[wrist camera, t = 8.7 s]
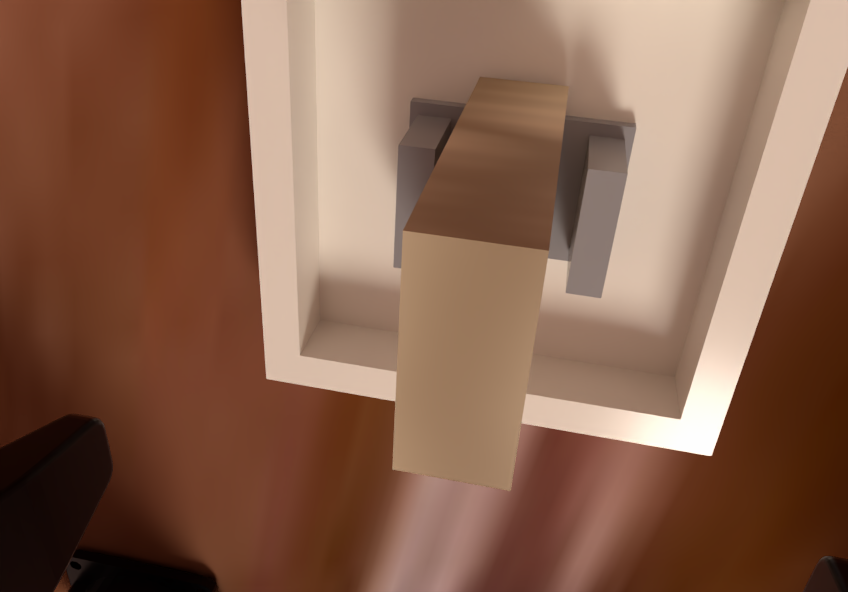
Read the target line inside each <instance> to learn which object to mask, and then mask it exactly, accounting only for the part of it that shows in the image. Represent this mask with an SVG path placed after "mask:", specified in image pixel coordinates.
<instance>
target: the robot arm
mask: <svg viewBox="0 0 848 592" xmlns="http://www.w3.org/2000/svg"><path fill="white" fill-rule="evenodd" d="M112 471H113V461H112V457H111V452H110V448H109V443H108V439H107V434H106V430H105V426H104V424H103V422H102V421H101V420H100V419H98V418H95V417H89V416H84V415H79V414H69V415H66V416H64V417H61V418H59V419H57V420H55V421H53V422H51V423H49V424H47V425H45V426H43V427H41V428H39V429H37V430H35V431H33V432H31V433H29V434H27V435H25V436H23V437H21V438H19V439H17V440H15V441H13V442H11V443H9V444H7V445H5V446H3V447H1V448H0V592H54V590H55V588H56V587H57V585H58V583H59V581H60V579H61V578H62V576H63V574H64V572H65V570H67V573H68V577H69V580H70V584H71V587H70V589H69V590H68V592H218V587H217V585H216V583H215V582H214V581H213V580H212V579H210V578H208V577H205V576H200V575H195V574H191V573H186V572H181V571H177V570H172V569H167V568H163V567H158V566H153V565H149V564H144V563H139V562H135V561H130V560H125V559H121V558H116V557H111V556H106V555H102V554H97V553H92V552H88V551H83V550H77V549H76V548H77V546H78V544H79V542H80V540H81V538H82V536H83V534H84V532H85V530H86V528H87V526H88V524H89V522H90V520H91V518H92V516H93V514H94V512H95V510H96V508H97V506H98V504H99V502H100V500H101V498H102V496H103V494H104V492H105V490H106V488H107V486H108V484H109V481H110V479H111V476H112ZM803 592H848V559H844V558H839V557H833V556H824V557H822V558H821V559H820V560H819V562H818V563H817V565H816V567H815V569H814V571H813V573H812V575H811V577H810V579H809V581H808V583H807V585H806V587H805V589H804V591H803Z"/></svg>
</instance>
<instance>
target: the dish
mask: <svg viewBox="0 0 848 592" xmlns="http://www.w3.org/2000/svg"><path fill="white" fill-rule="evenodd" d="M241 6H242V21H243V36H244V51H245V66H246V81H247V96H248V111H249V126H250V141H251V156H252V171H253V186H254V201H255V216H256V230H257V245H258V260H259V275H260V290H261V305H262V320H263V335H264V350H265V365H266V379H270V380H276V381H282V382H288V383H293V384H299V385H305V386H311V387H316V388H322V389H328V390H334V391H339V392H345V393H351V394H357V395H362V396H368V397H374V398H380V399H385V400H391V401H395V399H396V376H397V353H398V330H399V307H400V284H401V262H402V239H403V229H404V227H405V225H406V223H407V221H408V219H409V217H410V215H411V213H412V211H413V209H414V207H415V205H416V203H417V201H418V199H419V197H420V195H421V193H422V191H423V189H424V187H425V185H426V183H427V181H428V179H429V177H430V175H431V173H432V171H433V169H434V167H435V165H436V163H437V161H438V159H439V157H440V155H441V153H442V151H443V149H444V147H445V145H446V143H447V141H448V139H449V137H450V135H451V133H452V131H453V129H454V127H455V125H456V123H457V121H458V119H459V117H460V115H461V113H462V111H463V110H464V108H465V106H466V104H467V102H468V100H469V98H470V96H471V94H472V92H473V90H474V88H475V86H476V84H477V82H478V80H479V78H480V77H488V78H497V79H506V80H516V81H525V82H534V83H543V84H552V85H562V86H569V90H568V98H567V106H566V115H565V123H564V131H563V139H562V148H561V156H560V164H559V172H558V181H557V189H556V197H555V205H554V214H553V222H552V230H551V239H550V247H549V254H548V260H547V267H546V273H545V279H544V285H543V291H542V298H541V304H540V310H539V316H538V323H537V329H536V335H535V341H534V348H533V354H532V360H531V366H530V373H529V379H528V385H527V391H526V398H525V404H524V410H523V416H522V423H524V424H529V425H535V426H541V427H547V428H552V429H558V430H564V431H570V432H575V433H581V434H587V435H593V436H598V437H604V438H610V439H616V440H621V441H627V442H633V443H639V444H644V445H650V446H656V447H662V448H668V449H673V450H679V451H685V452H691V453H696V454H702V455H708V456H712V453H713V450H714V447H715V444H716V441H717V439H718V436H719V433H720V430H721V427H722V424H723V421H724V419H725V416H726V413H727V410H728V407H729V404H730V401H731V399H732V396H733V393H734V390H735V387H736V384H737V381H738V379H739V376H740V373H741V370H742V367H743V364H744V361H745V359H746V356H747V353H748V350H749V347H750V344H751V341H752V339H753V336H754V333H755V330H756V327H757V324H758V321H759V319H760V316H761V313H762V310H763V307H764V304H765V301H766V299H767V296H768V293H769V290H770V287H771V284H772V281H773V279H774V276H775V273H776V270H777V267H778V264H779V261H780V259H781V256H782V253H783V250H784V247H785V244H786V241H787V239H788V236H789V233H790V230H791V227H792V224H793V221H794V219H795V216H796V213H797V210H798V207H799V204H800V201H801V199H802V196H803V193H804V190H805V187H806V184H807V181H808V179H809V176H810V173H811V170H812V167H813V164H814V161H815V159H816V156H817V153H818V150H819V147H820V144H821V141H822V138H823V136H824V133H825V130H826V127H827V124H828V121H829V118H830V116H831V113H832V110H833V107H834V104H835V101H836V98H837V96H838V93H839V90H840V87H841V84H842V81H843V78H844V76H845V73H846V70H847V67H848V0H241Z"/></svg>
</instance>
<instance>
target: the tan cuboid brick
mask: <svg viewBox="0 0 848 592" xmlns="http://www.w3.org/2000/svg"><path fill="white" fill-rule="evenodd" d="M568 90H569V86H562V85H552V84H543V83H534V82H525V81H516V80H506V79H497V78H488V77H480V78H479V80H478V82H477V84H476V86H475V88H474V90H473V92H472V94H471V96H470V98H469V100H468V102H467V104H466V106H465V108H464V110H463V111H462V113H461V115H460V117H459V119H458V121H457V123H456V125H455V127H454V129H453V131H452V133H451V135H450V137H449V139H448V141H447V143H446V145H445V147H444V149H443V151H442V153H441V155H440V157H439V159H438V161H437V163H436V165H435V167H434V169H433V171H432V173H431V175H430V177H429V179H428V181H427V183H426V185H425V187H424V189H423V191H422V193H421V195H420V197H419V199H418V201H417V203H416V205H415V207H414V209H413V211H412V213H411V215H410V217H409V219H408V221H407V223H406V225H405V227H404V229H403V239H402V262H401V284H400V307H399V330H398V353H397V376H396V399H395V422H394V445H393V468H392V469H393V470H399V471H404V472H410V473H415V474H420V475H426V476H431V477H437V478H442V479H448V480H453V481H459V482H464V483H469V484H475V485H480V486H486V487H491V488H497V489H502V490H507V491H511V485H512V479H513V473H514V466H515V460H516V454H517V448H518V441H519V435H520V429H521V423H522V416H523V410H524V404H525V398H526V391H527V385H528V379H529V373H530V366H531V360H532V354H533V348H534V341H535V335H536V329H537V323H538V316H539V310H540V304H541V298H542V291H543V285H544V279H545V273H546V267H547V260H548V254H549V247H550V239H551V230H552V222H553V214H554V205H555V197H556V189H557V181H558V172H559V164H560V156H561V148H562V139H563V131H564V123H565V115H566V106H567V98H568Z"/></svg>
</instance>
